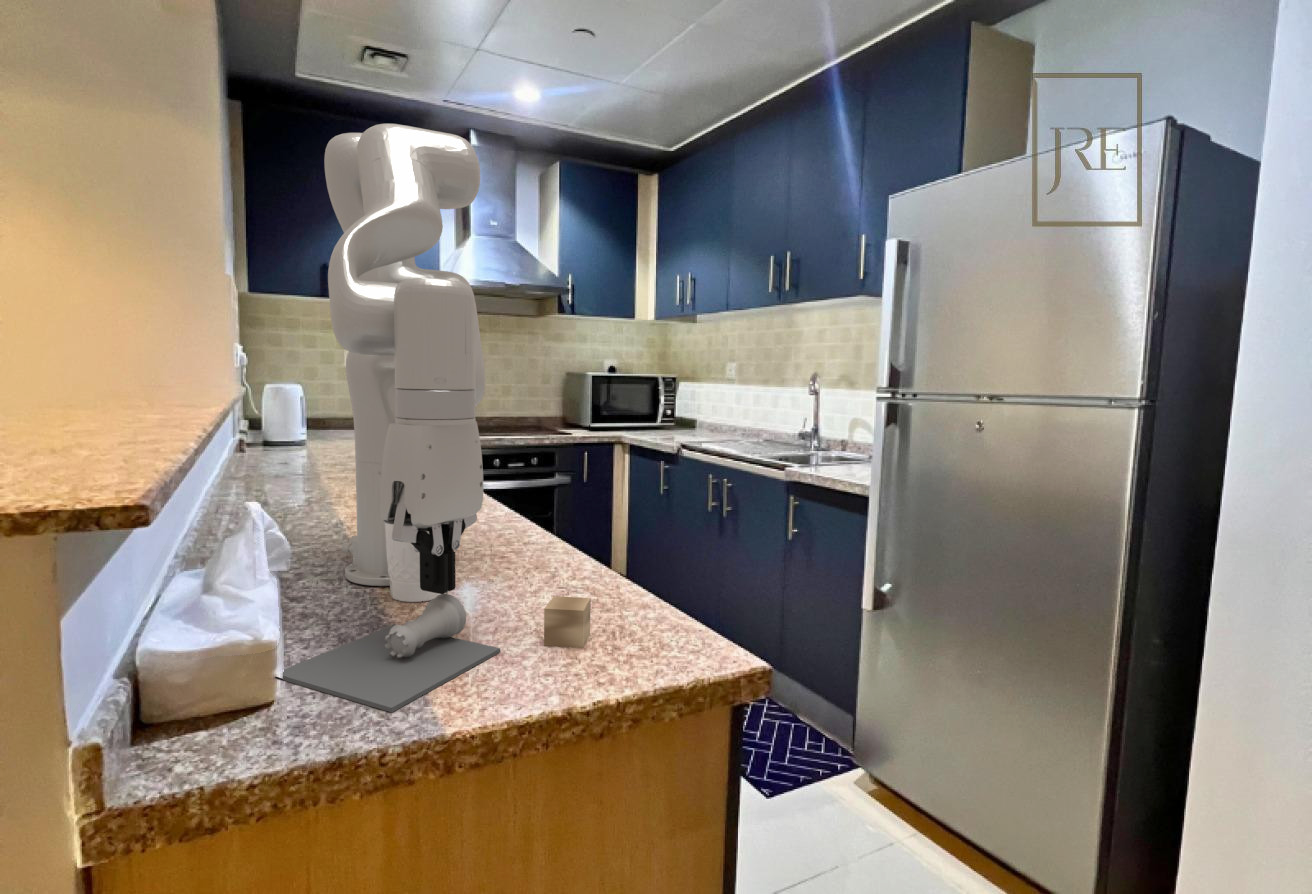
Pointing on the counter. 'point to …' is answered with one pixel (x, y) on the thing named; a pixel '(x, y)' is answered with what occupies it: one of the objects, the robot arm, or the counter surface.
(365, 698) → the mat
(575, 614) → the oak block
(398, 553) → the white cup
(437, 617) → the rook chess piece
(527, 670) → the counter surface
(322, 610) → the counter surface
